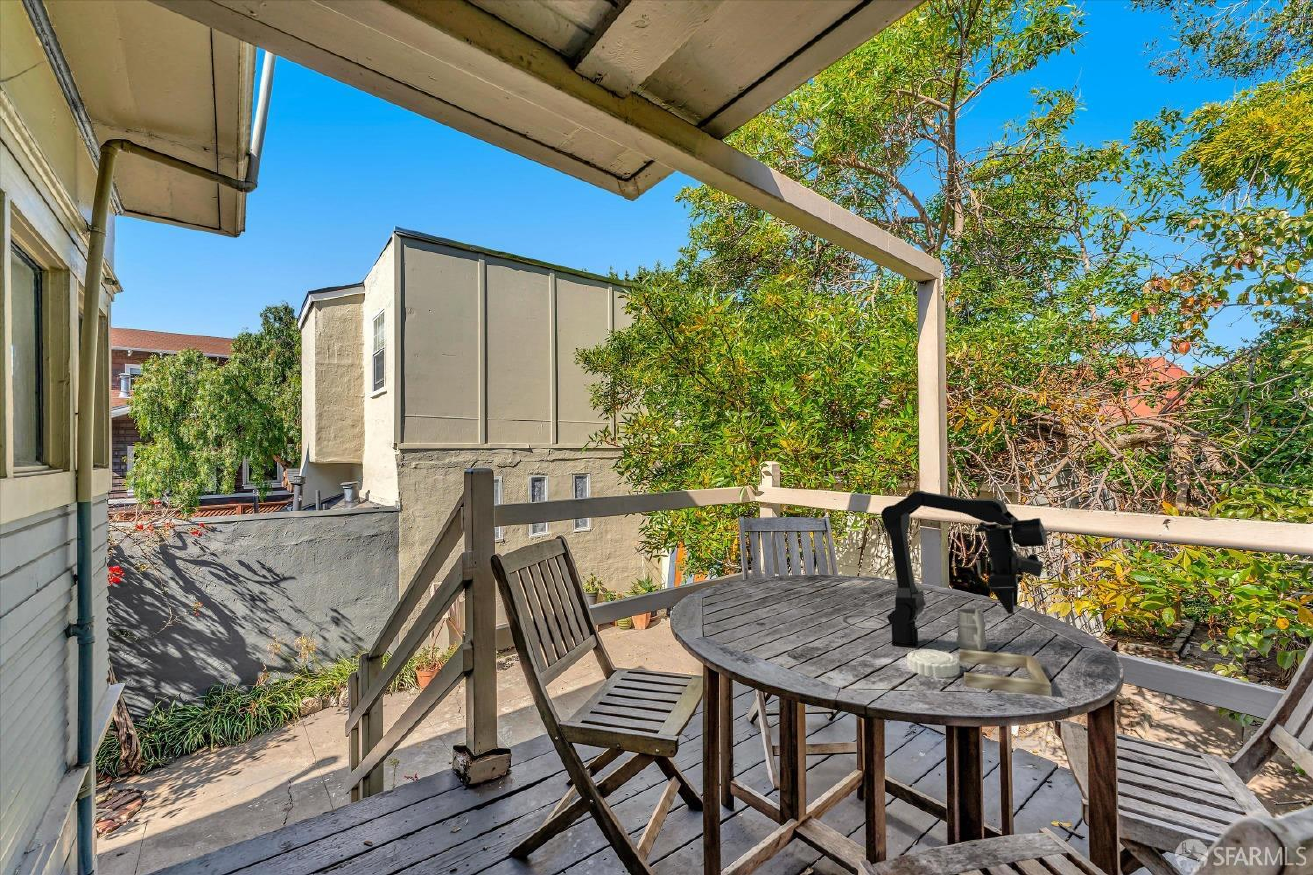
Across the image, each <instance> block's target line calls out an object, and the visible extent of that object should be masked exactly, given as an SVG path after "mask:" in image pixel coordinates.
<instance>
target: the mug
mask: <svg viewBox="0 0 1313 875" xmlns="http://www.w3.org/2000/svg"><path fill="white" fill-rule="evenodd" d="M956 624H957V635H956V642H957V646H958V647H959V648H962V650H972V651H985V650H987V646H988V642H989V641H988V639H987V637H986V626H987V624H986V621H985V615H984V611H983V610H982V609H979V608H964V607H963V608H959V609H957V619H956Z"/></svg>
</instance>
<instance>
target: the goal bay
mask: <svg viewBox="0 0 1313 875" xmlns="http://www.w3.org/2000/svg"><path fill="white" fill-rule="evenodd" d="M958 660H959V662H962V663H963V662H964V663H973V664H981V665H993V666H1002V667H1011V668H1020V669H1021V668H1023V669H1027V670H1028V672H1029V675H1030V677H1031V679H1028V678H1020V677H1011V676H1000V675H993V674H983V673H972V672H967V671H966V672H965V671H964V672H963V678H964V679H963V681H964V682H963V683H964V686H965V687H970V688H977V689H978V688H979V689H986V690H996V691H1004V692H1011V693H1012V692H1014V693H1019V694H1020V693H1021V694H1030V695H1038V696H1039V695H1040V696H1044V697H1045V696H1047V697H1052V683H1051V682H1050V680H1049V678H1048V677H1047V675H1046V674H1045V672H1044V670H1043V669H1042V667H1041V665H1040V664H1039V662H1038V660H1037V658H1036V657H1035V655H1033V656H1032V655H1025V654H1024V655H1022V654H1014V653H1003V652H1002V653H1001V652H991V651H984V650H982V651H972V650H966V649H963V648H962V649H960V648H959V649H958Z"/></svg>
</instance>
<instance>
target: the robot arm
mask: <svg viewBox="0 0 1313 875" xmlns="http://www.w3.org/2000/svg"><path fill="white" fill-rule="evenodd" d="M921 507H928V508H933V509H938V510H945V511H949V512H955V513H961V514H965V515H968V516H970V517H971V518H974V519H976V520H979V521H981V522H980V523H979V525H978V526H977V528H975V529H974V532H976V533H981V532H983V533H984V538H985V542H986V547H987V551H988V552H987V558H988V559H989V561H990V566H991V567H990V568H991V569H990V575H989V576H988V577H987V579H986V582H987V587H988V588H989V589H990V591H991V592H993V594H994V595H995V597H996V598H997V600H998V601H999V602H1000V604H1001V606H1002V607H1003V608H1004V610H1005V611H1006V612H1007V614H1009V615H1013V614H1014V607H1015V606H1016V607H1017V606H1018V596H1019V595H1018V594H1019V586H1020V585H1019V584H1020V583H1021V581H1022V580H1023V579H1024V576H1025V574H1028V575H1029V574H1030V575H1032V576H1034V577H1038V578H1039V577H1041V575H1042V570H1043V568H1044V562H1043V561H1042V560H1039V557H1038V555H1036V554H1033V553H1030V554H1029V555H1028V556H1027V557H1026V556H1019V555H1018V552H1017V551H1016V549H1014V545H1013V543H1014V544H1015V545H1018V546H1019V548H1023V547H1026V548H1027V547H1047V545H1048V537H1047V532H1046V529H1045V527H1044V525H1043V523H1042V520H1041V518H1040V517H1036V518H1032V519H1022V520H1019V519H1018V518H1017V517H1016V516H1015V515H1014V514H1013V513H1011V512H1010V511H1009V510H1008V506H1007V505H1006V503H1005V502H1004V501H1003V500H1001V499H1000V498H998V499H997V498H964V497H958V496H951V495H946V494H940V493H933V492H926V491H925V490H916V491H913V492H911V494H909V495H908V496H906V497H905V498H903V499H902V500H899V501H898V502H897V503H895V504H893V505H888V506H885V507H884V508H883V510H881V514H880V515H881V520H882V523H883V527H884V529H885V530H886V532H887V534H888V536H889V539H890V545H891V548H892V549H891V550H892V557H893V563H894V571H895V576H896V582H897V589H896V594H895V597H894V598H895V600H894V601H895V602H894V609H893V610H892V611H891V612H890V613H889V614H888V615H887V616H886V618H887V621H888V623H889V624H890V625H891V645H892V646H896V647H907V648H917V646H918V645H917V644H919V631H918V630H919V628H918V626H916V620H917V619H918V616H919V615H921V614H922V613H923V612H924V609H925V606H926V605H927V604H926V601H925V593H924V592H925V591H924V590H918V588H917V586H916V584H915V578H914V572H913V565H912V558H911V553H910V546H909V539H908V533H909V528H910V520H911V519H910V516H911V514H913V513H914V512H916V511H917V510H918V509H920V508H921ZM990 523H991V524H990ZM1019 575H1020V576H1019Z"/></svg>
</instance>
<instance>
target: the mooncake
mask: <svg viewBox="0 0 1313 875" xmlns="http://www.w3.org/2000/svg"><path fill="white" fill-rule="evenodd" d="M906 663H907V666H906V667H907V668H908V669H909V671H912V672H913V673H916V674H919V675H920V676H926V677H929V678H931V677H933V678H944V679H947V678H953V677H957V676H958V674H960V673H961V672H960V660H959V658H957V657H956V656H955V655H954V654H951V653H949V652H945V651H940V650H937V649H929V648H924V649H923V648H922V649H914V650H911V651H910V652H907V656H906Z"/></svg>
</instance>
